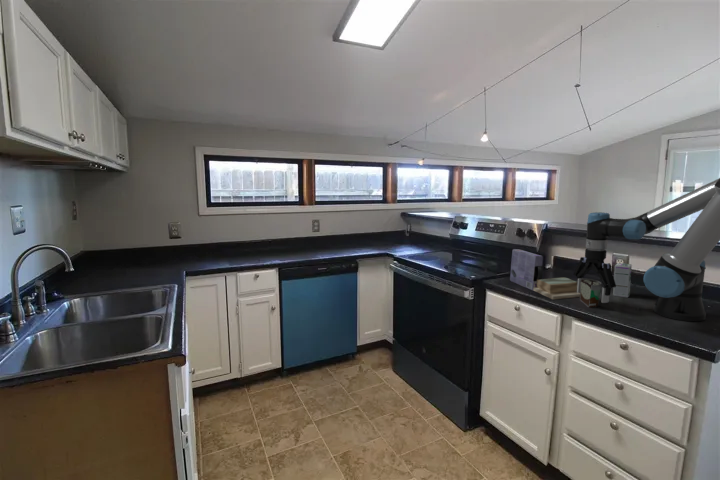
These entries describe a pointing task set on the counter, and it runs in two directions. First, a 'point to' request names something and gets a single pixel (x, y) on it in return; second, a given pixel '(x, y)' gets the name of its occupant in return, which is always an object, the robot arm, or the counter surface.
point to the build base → (557, 295)
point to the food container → (590, 291)
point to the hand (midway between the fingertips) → (592, 297)
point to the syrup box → (622, 280)
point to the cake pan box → (526, 268)
